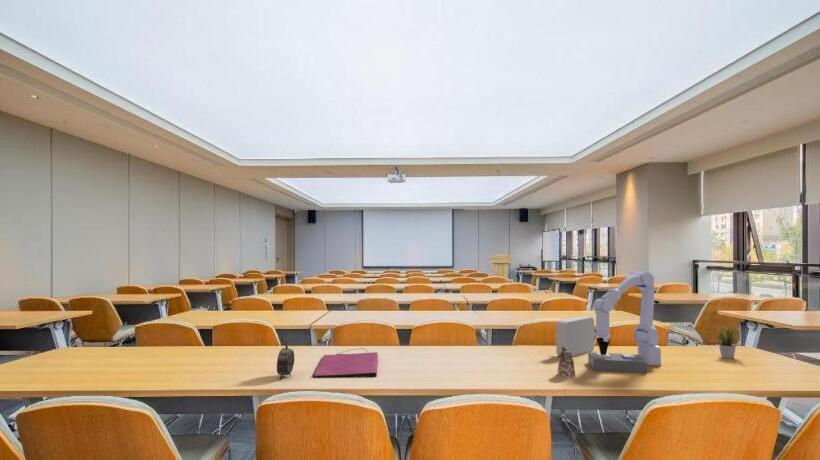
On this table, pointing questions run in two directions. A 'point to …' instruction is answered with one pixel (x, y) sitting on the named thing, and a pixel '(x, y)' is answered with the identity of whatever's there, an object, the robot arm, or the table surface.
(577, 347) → the rounded white slab
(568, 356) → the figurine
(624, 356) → the slate blue key
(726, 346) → the house plant
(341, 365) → the laptop bag
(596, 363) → the key deck
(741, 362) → the table surface
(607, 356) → the ivory key
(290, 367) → the alarm clock
